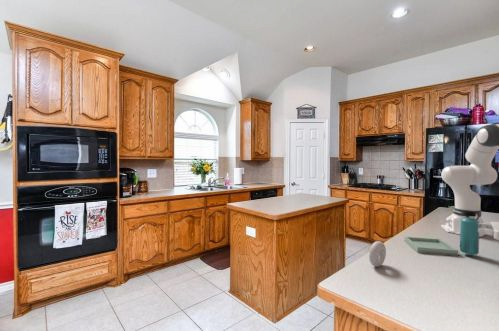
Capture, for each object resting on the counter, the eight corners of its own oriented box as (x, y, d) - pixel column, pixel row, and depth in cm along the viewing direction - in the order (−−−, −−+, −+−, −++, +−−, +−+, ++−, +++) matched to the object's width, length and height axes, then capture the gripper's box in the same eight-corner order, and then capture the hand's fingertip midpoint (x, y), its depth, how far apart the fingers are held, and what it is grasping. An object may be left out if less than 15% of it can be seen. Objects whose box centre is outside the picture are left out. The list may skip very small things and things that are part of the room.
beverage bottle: (482, 258, 106) (484, 212, 106) (464, 257, 108) (466, 211, 107) (472, 253, 113) (473, 209, 112) (455, 252, 114) (456, 208, 114)
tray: (404, 241, 129) (404, 236, 129) (439, 243, 125) (439, 238, 125) (417, 252, 113) (417, 247, 113) (458, 256, 110) (458, 250, 109)
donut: (376, 271, 94) (376, 245, 94) (367, 268, 97) (367, 243, 97) (387, 264, 101) (387, 239, 101) (378, 261, 103) (378, 237, 103)
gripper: (519, 221, 107) (476, 216, 116) (529, 231, 92) (478, 225, 101) (519, 235, 107) (476, 229, 116) (529, 248, 92) (478, 240, 101)
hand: (477, 227), depth 108 cm, fingers open, 8 cm apart
